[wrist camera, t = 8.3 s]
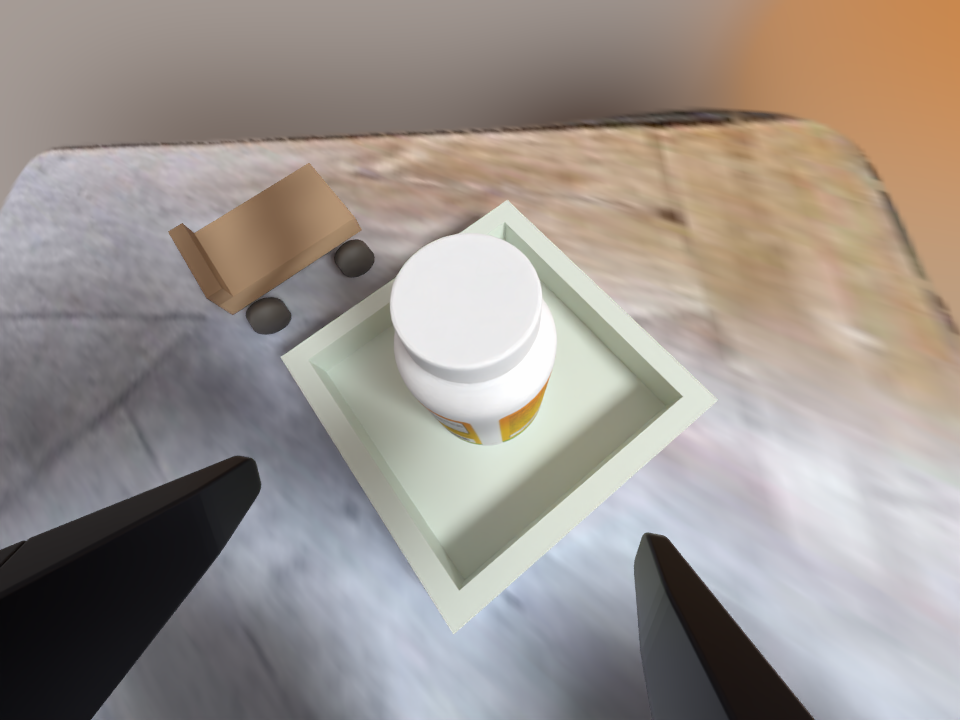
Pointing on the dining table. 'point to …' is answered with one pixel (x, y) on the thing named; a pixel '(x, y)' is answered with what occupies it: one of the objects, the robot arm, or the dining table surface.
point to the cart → (271, 246)
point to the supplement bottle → (473, 336)
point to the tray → (511, 465)
